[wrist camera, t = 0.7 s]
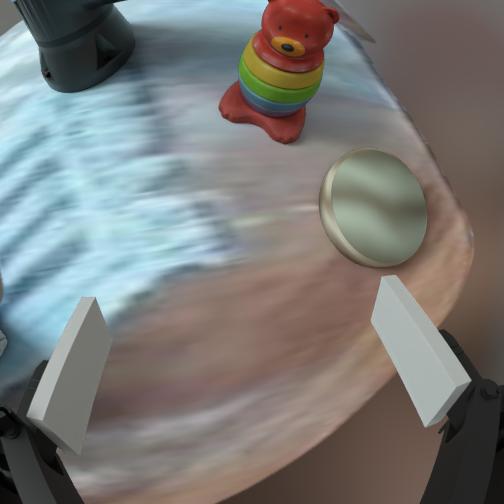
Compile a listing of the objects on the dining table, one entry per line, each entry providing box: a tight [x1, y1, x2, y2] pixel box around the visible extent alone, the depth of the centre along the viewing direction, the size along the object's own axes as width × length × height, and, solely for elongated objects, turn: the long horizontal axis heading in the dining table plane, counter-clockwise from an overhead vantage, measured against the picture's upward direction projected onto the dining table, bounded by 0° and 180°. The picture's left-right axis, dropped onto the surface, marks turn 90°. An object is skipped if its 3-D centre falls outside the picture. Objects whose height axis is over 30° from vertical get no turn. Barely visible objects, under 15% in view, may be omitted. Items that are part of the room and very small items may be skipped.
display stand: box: [319, 148, 427, 268], centre depth 35 cm, size 15×15×3 cm
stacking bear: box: [219, 0, 340, 144], centre depth 27 cm, size 11×10×18 cm
